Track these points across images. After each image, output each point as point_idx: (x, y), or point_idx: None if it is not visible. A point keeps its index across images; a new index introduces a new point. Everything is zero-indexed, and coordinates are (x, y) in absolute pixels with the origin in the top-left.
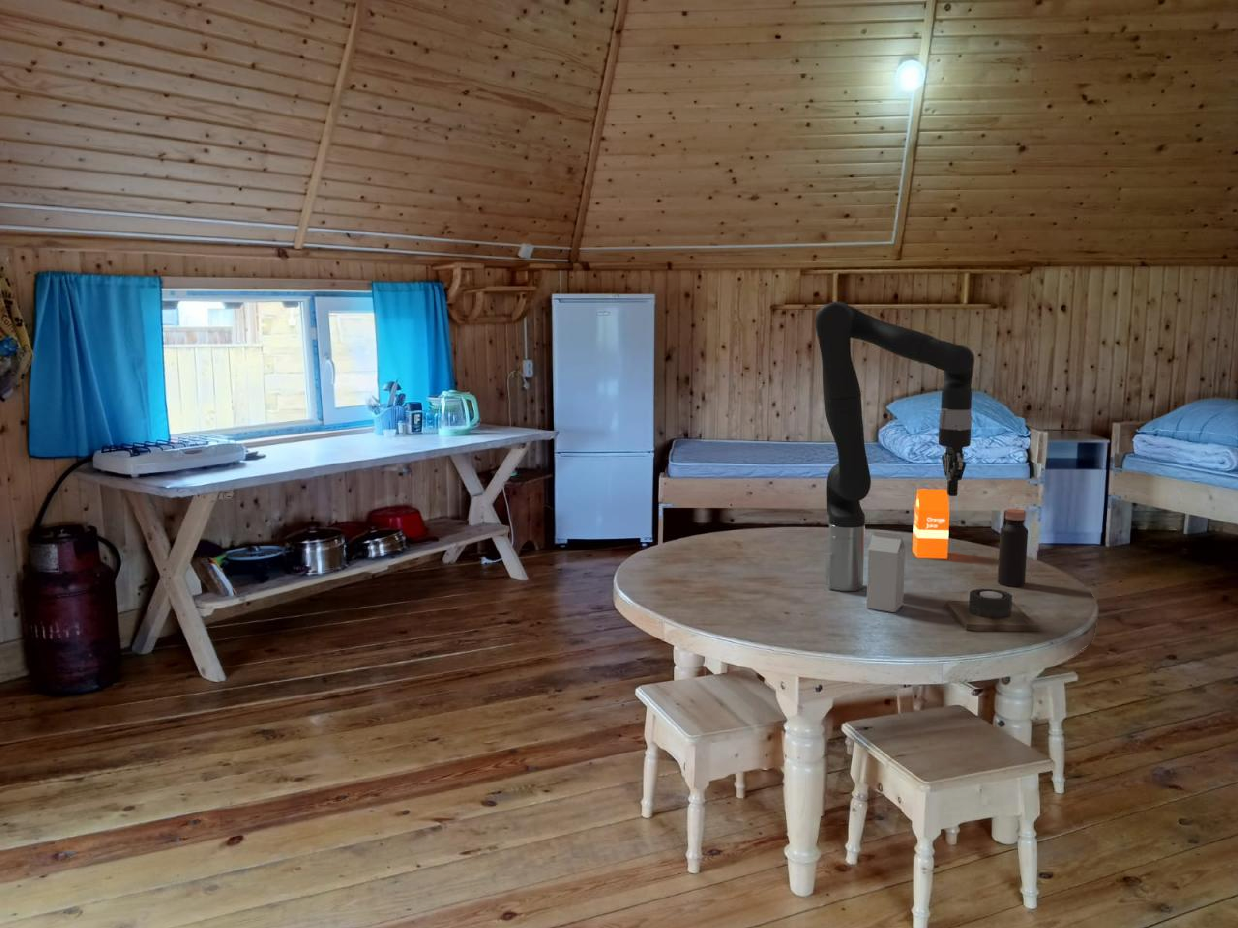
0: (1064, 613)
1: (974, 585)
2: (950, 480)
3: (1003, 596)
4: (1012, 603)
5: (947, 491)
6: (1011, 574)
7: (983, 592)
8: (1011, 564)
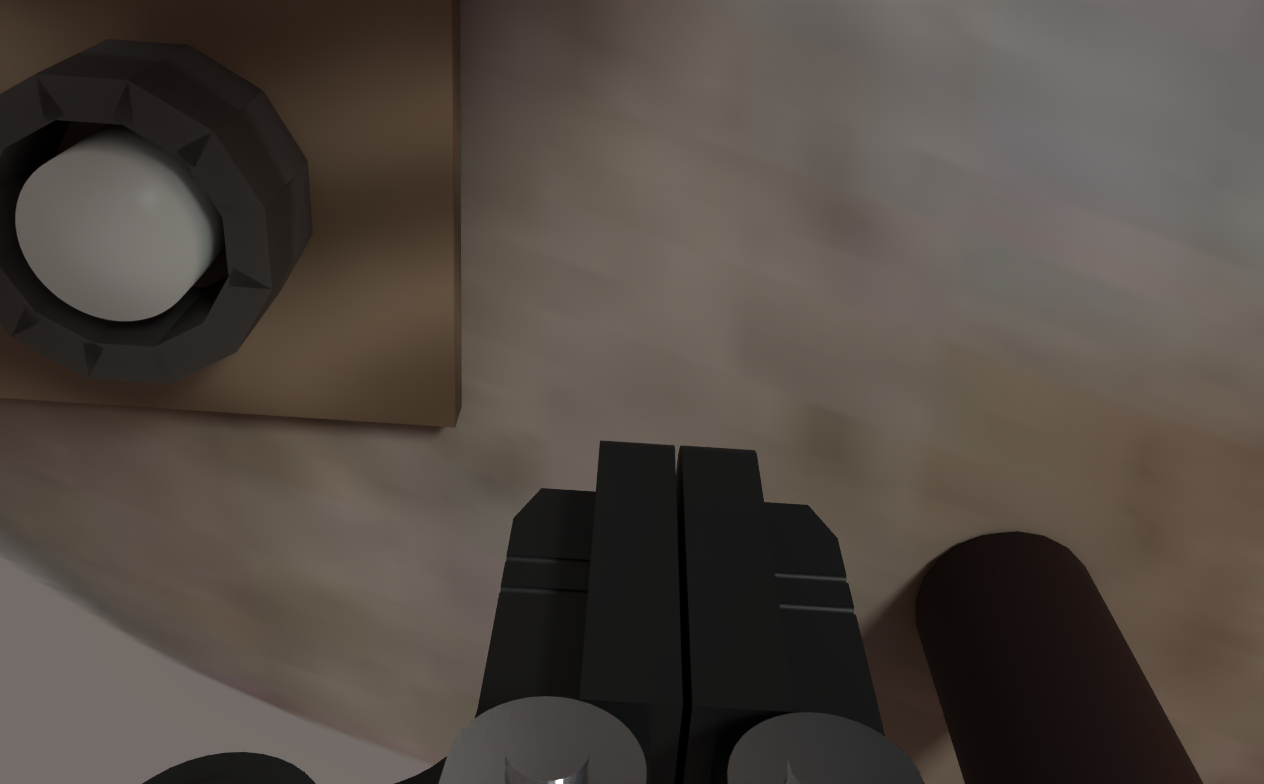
0: (358, 641)
1: (1001, 358)
2: (470, 750)
3: (166, 333)
4: (408, 416)
5: (696, 481)
6: (943, 625)
7: (150, 196)
8: (965, 675)
